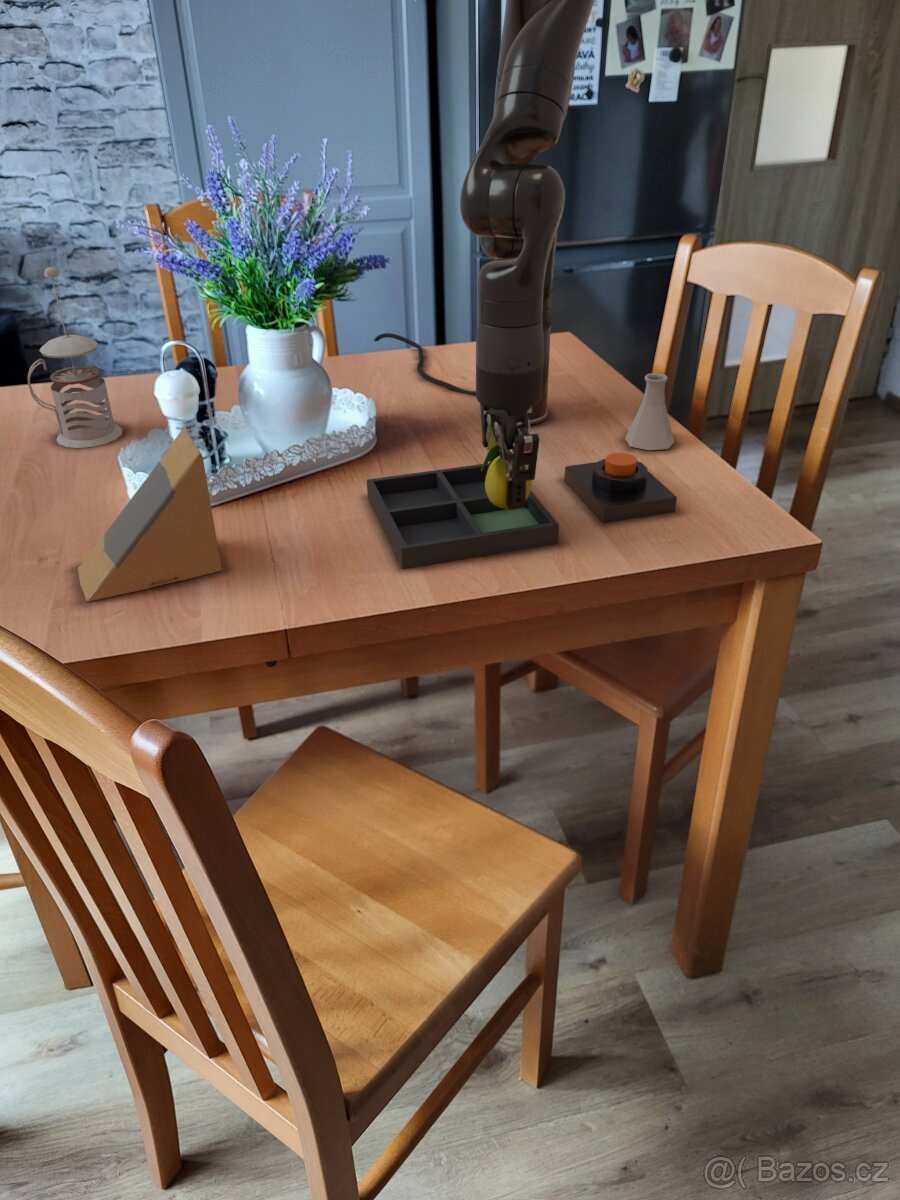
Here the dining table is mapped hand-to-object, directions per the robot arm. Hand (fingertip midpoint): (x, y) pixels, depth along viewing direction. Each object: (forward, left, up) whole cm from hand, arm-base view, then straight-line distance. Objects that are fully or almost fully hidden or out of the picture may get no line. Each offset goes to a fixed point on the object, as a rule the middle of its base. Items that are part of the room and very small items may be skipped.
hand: (506, 495), depth 113 cm
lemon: (0, 0, -2) cm, 2 cm away
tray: (-5, -5, -5) cm, 8 cm away
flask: (-20, +29, -5) cm, 36 cm away
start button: (-5, +17, -1) cm, 18 cm away
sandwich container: (-4, -43, -5) cm, 43 cm away
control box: (-5, +17, -5) cm, 18 cm away
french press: (-49, -52, -5) cm, 71 cm away
